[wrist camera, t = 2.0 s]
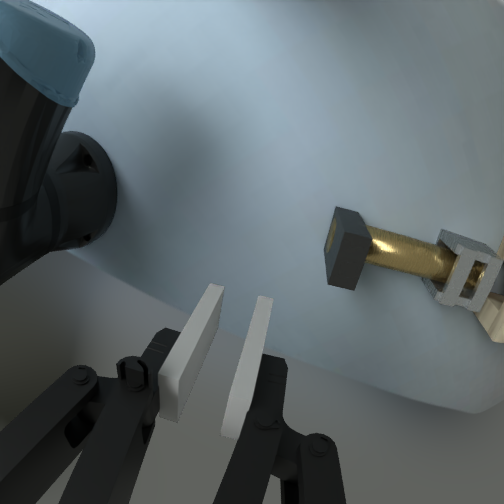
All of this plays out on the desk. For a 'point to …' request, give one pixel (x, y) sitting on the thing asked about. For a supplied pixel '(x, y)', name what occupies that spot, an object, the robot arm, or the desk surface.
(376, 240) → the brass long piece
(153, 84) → the desk surface
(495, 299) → the socket
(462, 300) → the sleeve
